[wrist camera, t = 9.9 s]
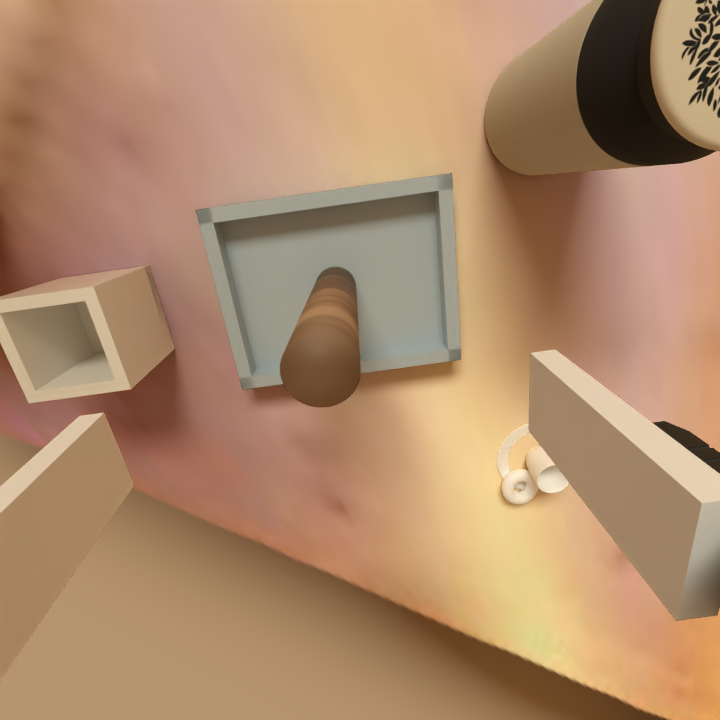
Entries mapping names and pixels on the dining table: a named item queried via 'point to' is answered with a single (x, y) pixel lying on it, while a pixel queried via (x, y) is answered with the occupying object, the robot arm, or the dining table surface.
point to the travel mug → (612, 90)
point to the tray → (347, 250)
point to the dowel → (325, 343)
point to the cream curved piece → (528, 472)
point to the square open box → (84, 334)
